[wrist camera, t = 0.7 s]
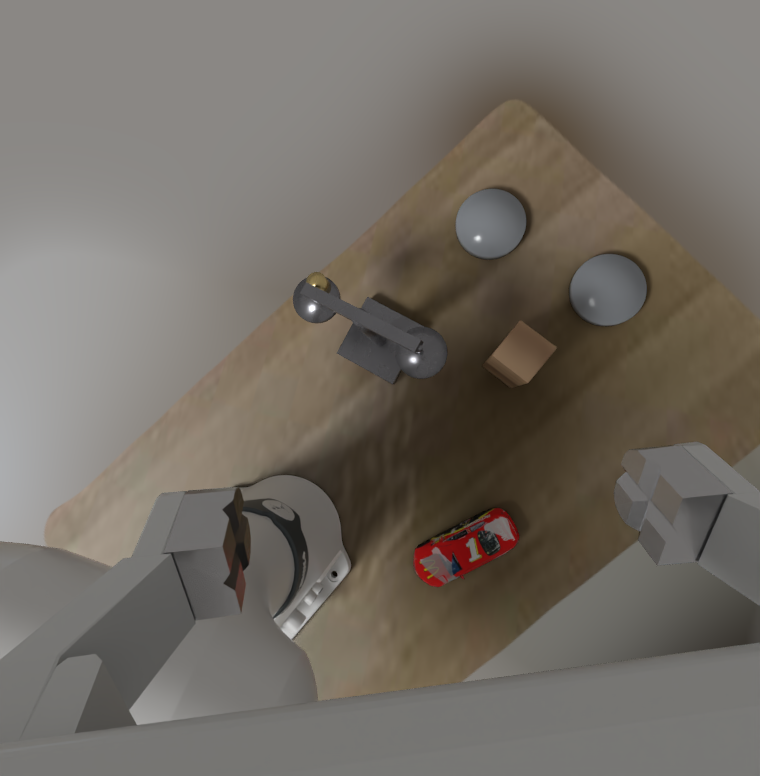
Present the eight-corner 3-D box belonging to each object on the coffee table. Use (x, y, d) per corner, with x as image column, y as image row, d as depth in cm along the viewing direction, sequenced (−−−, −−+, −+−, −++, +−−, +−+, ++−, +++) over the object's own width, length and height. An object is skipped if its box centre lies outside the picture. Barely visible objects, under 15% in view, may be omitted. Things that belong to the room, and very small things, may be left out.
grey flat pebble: (503, 271, 59) (505, 268, 58) (443, 241, 60) (443, 237, 59) (537, 211, 59) (538, 206, 58) (475, 182, 60) (476, 177, 59)
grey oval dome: (620, 338, 57) (624, 337, 56) (556, 306, 58) (558, 304, 57) (655, 276, 57) (660, 273, 56) (590, 245, 58) (593, 241, 57)
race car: (426, 588, 59) (424, 601, 55) (405, 547, 60) (403, 557, 56) (523, 542, 58) (529, 552, 54) (501, 501, 58) (506, 508, 54)
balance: (427, 403, 60) (421, 400, 42) (306, 336, 62) (251, 306, 44) (458, 346, 60) (466, 319, 41) (336, 282, 62) (293, 229, 44)
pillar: (510, 388, 59) (528, 383, 47) (481, 366, 59) (491, 355, 47) (533, 360, 58) (557, 347, 47) (504, 338, 59) (520, 320, 47)
